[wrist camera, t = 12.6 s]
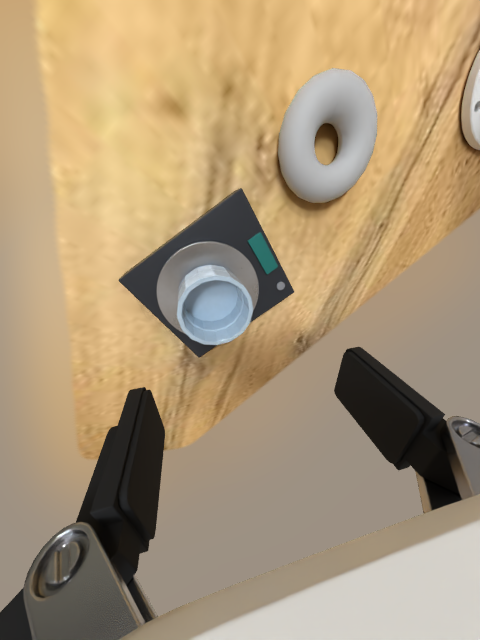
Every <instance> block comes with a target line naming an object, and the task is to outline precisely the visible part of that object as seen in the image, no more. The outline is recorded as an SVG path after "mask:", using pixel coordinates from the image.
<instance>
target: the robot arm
mask: <svg viewBox="0 0 480 640" xmlns="http://www.w3.org/2000/svg"><path fill="white" fill-rule="evenodd" d="M461 121H462V130H463V133H464V136H465V139H466V140H467V142H468V143H469V145H470V146H472V147H473V148H474V149H477V150H480V50H479V52H478V54H477V56H476V58H475V61H474V63H473V66H472V68H471V71H470V73H469V77H468V80H467V84H466V87H465V91H464V96H463V102H462V113H461ZM334 391H335V394H336V396H337V398H338V399H339V400H340V401H341V403H342V404H343V405H344V407H345V408H346V409H347V410H348V411H349V413H350V414H351V415H352V417H353V418H354V419H355V420H356V422H357V423H358V424H359V425H360V427H361V428H362V429H363V430H364V432H365V433H366V434H367V436H368V437H369V438H370V439H371V440H372V442H373V443H374V444H375V446H376V447H377V448H378V449H379V451H380V452H381V453H382V454H383V456H384V457H385V458H386V459H387V460H388V461H389V462H390V463H393V464H394V466H395V467H396V468H397V469H398V470H401V469H404V468H407V467H409V466H410V465H411V466H412V467H413V468H414V469H415V471H416V476H417V481H418V487H419V491H420V497H421V502H422V507H423V512H424V514H422V515H419V516H416V517H414V518H411V519H408V520H405V521H403V522H400V523H397V524H394V525H392V526H389V527H386V528H384V529H381V530H378V531H376V532H373V533H370V534H368V535H365V536H362V537H360V538H357V539H354V540H351V541H349V542H346V543H344V544H341V545H338V546H335V547H333V548H330V549H328V550H325V551H322V552H320V553H317V554H314V555H312V556H309V557H306V558H304V559H301V560H298V561H296V562H293V563H291V564H288V565H285V566H283V567H280V568H277V569H275V570H272V571H269V572H267V573H264V574H261V575H259V576H256V577H254V578H251V579H248V580H246V581H243V582H241V583H238V584H235V585H233V586H230V587H228V588H225V589H223V590H220V591H218V592H215V593H213V594H210V595H208V596H205V597H203V598H200V599H198V600H196V601H193V602H191V603H188V604H186V605H183V606H181V607H179V608H176V609H174V610H172V611H170V612H168V613H166V614H163V615H161V616H159V617H158V616H157V614H156V612H155V610H154V608H153V607H152V605H151V603H150V601H149V599H148V597H147V596H146V594H145V592H144V590H143V588H142V586H141V585H140V583H139V581H138V579H137V578H136V576H135V573H136V571H137V568H138V560H139V554H140V553H143V552H146V551H148V547H149V540H150V539H153V538H154V536H155V530H156V520H157V510H158V500H159V490H160V480H161V469H162V460H163V450H164V440H165V430H164V426H163V423H162V420H161V418H160V415H159V412H158V409H157V406H156V404H155V401H154V398H153V395H152V392H151V390H146V388H145V387H143V388H138V389H133V390H130V391H129V393H128V395H127V398H126V402H125V405H124V408H123V411H122V414H121V417H120V420H119V423H118V426H115V427H112V428H111V429H110V430H109V432H108V434H107V436H106V439H105V442H104V445H103V447H102V450H101V453H100V456H99V459H98V461H97V464H96V467H95V470H94V473H93V476H92V478H91V481H90V484H89V487H88V490H87V492H86V495H85V498H84V501H83V504H82V507H81V510H80V512H79V515H78V518H77V521H76V523H73V524H71V525H69V526H67V527H66V528H63V529H62V530H61V531H59V532H58V533H57V534H55V535H54V536H53V537H52V538H51V539H50V540H49V541H48V542H47V543H46V545H45V546H44V547H43V548H42V549H41V551H40V552H39V554H38V555H37V557H36V558H35V560H34V561H33V563H32V566H31V567H30V569H29V571H28V573H27V577H26V580H25V584H24V588H23V589H22V590H21V591H20V592H19V593H18V594H17V595H16V596H15V598H14V599H13V600H12V601H11V602H10V603H9V604H8V605H7V606H6V607H5V608H4V609H3V610H2V611H1V612H0V640H480V424H479V423H477V422H475V421H473V420H470V419H467V418H464V417H459V416H452V417H450V418H448V419H447V421H445V420H444V419H443V417H444V415H445V414H444V413H443V412H441V411H440V410H439V409H438V408H436V407H435V406H434V405H433V404H431V403H430V402H429V401H427V400H426V399H425V398H424V397H422V396H421V395H420V394H419V393H417V392H416V391H415V390H414V389H412V388H411V387H410V386H409V385H407V384H406V383H405V382H404V381H402V380H401V379H400V378H399V377H397V376H396V375H395V374H394V373H392V372H391V371H390V370H389V369H387V368H386V367H385V366H384V365H382V364H381V363H380V362H379V361H377V360H376V359H375V358H374V357H372V356H371V355H370V354H369V353H367V352H366V351H365V350H363V349H362V348H361V347H355V348H350V349H347V350H346V352H345V353H344V355H343V358H342V362H341V366H340V370H339V374H338V378H337V382H336V385H335V390H334Z"/></svg>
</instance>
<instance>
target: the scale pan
mask: <svg viewBox="0 0 480 640" xmlns="http://www.w3.org/2000/svg"><path fill="white" fill-rule="evenodd" d="M206 265H215V266H221V267H224V268H226V269H227V270H229V271H231V272H232V273H234V274H235V276H236V277H237V278H238V279H239V280H240V282H241V283H242V284H243V285H244V286H245V288H246V290H247V291H248V293H249V294H250V296H251V298H252V304H253V311H254V308H255V306H256V303H257V300H258V294H259V284H258V279H257V275H256V272H255V270H254V268H253V266H252V264H251V263H250V262H249V260H248V259H247V258H246V257H245V256H244V255H243V254H242V253H241V252H239V251H238V250H236V249H235V248H233V247H232V246H229V245H227V244H224V243H221V242H216V241H200V242H195V243H191V244H188V245H186V246H184V247H182V248H181V249H179V250H177V251H176V252H175V253H174V254H173V255H171V256H170V258H169V259H168V260H167V261H166V263H165V264H164V266H163V268H162V270H161V272H160V274H159V278H158V281H157V300H158V304H159V307H160V309H161V311H162V313H163V315H164V316H165V318H166V319H167V320H168V322H169V323H170V324H171V325H172V326H174V327H175V328H176V329H178V330H179V331H181V332H183V333H185V332H184V331H183V330H182V329H181V327H180V324H179V321H178V319H177V302H178V290H179V286H180V284H181V283H182V281H183V279H184V277H185V276H186V275H187V274H189V273H190V272H191V271H193V270H194V269H195V268H198V267H202V266H206ZM185 334H186V333H185Z"/></svg>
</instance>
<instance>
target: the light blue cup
mask: <svg viewBox="0 0 480 640" xmlns="http://www.w3.org/2000/svg"><path fill="white" fill-rule="evenodd" d="M252 313H253V304H252V298H251V296H250V294H249V293H248V291H247V290H246V288H245V286H244V285H243V284H242V283H241V282H240V280H239V279H238V278H237V277H236V276H235V274H234V273H232V272H231V271H229V270H227V269H226V268H224V267H221V266H215V265H206V266H202V267H198V268H195V269H194V270H193V271H191V272H190V273H189V274H187V275H186V276H185V277H184V279H183V281H182V283H181V284H180V286H179V290H178V302H177V319H178V321H179V324H180V327H181V329H182V330H183V331H184V332H185V333H186V334H187V335H188V336H189V337H190V338H191V339H192V340H195V341H197V342H199V343H202V344H206V345H220V344H223V343H227V342H230V341H232V340H234V339H235V338H236V337H238V336H239V335H241V334H242V333H243V332H244V330H245V329H246V328H247V326H248V325H249V323H250V321H251V317H252Z"/></svg>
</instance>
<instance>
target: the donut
mask: <svg viewBox="0 0 480 640" xmlns="http://www.w3.org/2000/svg"><path fill="white" fill-rule="evenodd" d="M324 123H330V124H332V125H333V126H334V128H335V129H336V131H337V134H338V141H339V145H338V152H337V154H336V157H335V159H334V160H333V162H332V163H330V164H329V165H323V164H321V163H320V162H319V161H318V160H317V157H316V155H315V149H314V141H315V136H316V133H317V131H318V129H319V127H320V126H321V125H322V124H324ZM376 136H377V111H376V107H375V102H374V98H373V95H372V93H371V91H370V89H369V88H368V86H367V84H366V82H365V81H364V80H363V79H362V78H361V77H359V76H358V75H356V74H355V73H354V72H352V71H350V70H344V69H336V68H332V69H329V70H327V71H324V72H322V73H319V74H316V75H315V76H313V77H312V78H311V79H310V80H309V81H308V82H307V83H305V84H304V85H303V86H302V87H301V88H300V89H299V90H298V91H297V93H296V95H295V97H294V98H293V100H292V102H291V104H290V105H289V107H288V109H287V110H286V112H285V115H284V119H283V122H282V126H281V129H280V133H279V147H278V156H279V162H280V167H281V173H282V175H283V177H284V179H285V181H286V183H287V185H288V187H289V188H290V189H291V190H292V191H293V192H294V193H295V194H296V195H297V196H298V197H299V198H301V199H304V200H306V201H309V202H311V203H326V202H328V201H331V200H333V199H336V198H338V197H340V196H342V195H343V194H344V193H345V192H347V191H348V190H349V189H350V188H351V187H353V186H354V184H355V183H356V182H357V181H358V179H359V178H360V176H361V175H362V174H363V172H364V171H365V169H366V167H367V165H368V162H369V160H370V158H371V156H372V153H373V149H374V145H375V140H376Z"/></svg>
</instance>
